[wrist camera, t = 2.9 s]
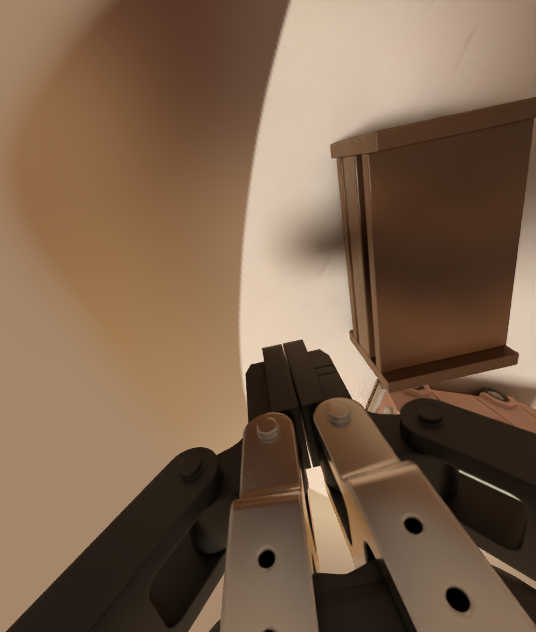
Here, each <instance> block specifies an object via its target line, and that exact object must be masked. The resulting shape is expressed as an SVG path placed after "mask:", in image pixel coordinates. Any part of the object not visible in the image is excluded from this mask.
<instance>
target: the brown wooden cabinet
mask: <svg viewBox="0 0 536 632" xmlns="http://www.w3.org/2000/svg"><path fill="white" fill-rule="evenodd" d="M534 118H536V97H533V98H528V99H524V100H519V101H515V102H510V103H505V104H501V105H496V106H491V107H487V108H482V109H477V110H473V111H468V112H463V113H459V114H454V115H450V116H445V117H440V118H436V119H431V120H426V121H422V122H417V123H412V124H408V125H403V126H398V127H394V128H389V129H385V130H380V131H376V132H372V133H369V134H365V135H362V136H358V137H355V138H351V139H348V140H344V141H341V142H337V143H334V144H331V145H330V148H331V157H332V158H337V169H338V179H339V189H340V199H341V210H342V220H343V230H344V240H345V251H346V261H347V271H348V281H349V292H350V302H351V312H352V322H353V330H352V331H350V340H351V341H352V343H353V344H354V345H355V347H356V348H357V350H358V351H359V352H360V354H361V355H362V357H363V358H364V359H365V361H366V362H367V364H368V365H369V366H370V368H371V369H372V371H373V372H374V373H375V375H376V376H377V377H378V379H379V380H380V382H381V383H382V384H383V386H384V387H385V389H386V390H387V391H388V393H393V392H398V391H402V390H407V389H411V388H415V387H420V386H424V385H429V384H433V383H437V382H442V381H446V380H451V379H455V378H459V377H464V376H468V375H473V374H477V373H481V372H486V371H490V370H495V369H499V368H503V367H508V366H512V365H516V364H517V363H518V356H519V353H517V352H516V351H514V350H512V349H511V348H509V347H508V346H506V340H507V332H508V324H509V316H510V308H511V300H512V292H513V284H514V277H515V269H516V261H517V253H518V245H519V237H520V229H521V221H522V213H523V205H524V197H525V189H526V181H527V173H528V165H529V157H530V149H531V141H532V133H533V125H534Z"/></svg>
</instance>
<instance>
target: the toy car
mask: <svg viewBox="0 0 536 632" xmlns="http://www.w3.org/2000/svg"><path fill="white" fill-rule="evenodd" d="M419 398H430V399H436V400H440V401H443V402H446V403H449V404H451V405H454V406H457V407H460V408H463V409H466V410H469V411H472V412H475V413H478V414H481V415H483V416H486V417H489V418H492V419H495V420H498V421H501V422H504V423H507V424H510V425H513V426H515V427H518V428H521V429H524V430H527V431H530V432H533V433H536V410H535V409H533V408H532V407H530V406H529V405H527V404H526V403H524V402H518V401H515V400H514V399H513V397H512V396H507V397H506V396H504V395H503V394H501V393H500V392H498V391H496V390H493V389H490V388H484V389H483V391H482V392H481V393H480V395H479V396H474V395H467V394H460V393H453V392H445V391H438V390H431V389H430V387H429V385H424V386H420V387H415V388H411V389H407V390H402V391H398V392H393V393H388V391H387V390H386V389H385V387H384V386H383V384H382V383H380V384H378V387H377V389H376V392H375V394H374V396H373V399H372V401H371V403H370V406H369V408H368V411H369V412H372V413H378V414H400V410H401V408H402V406H403V405H404V404H405V403H407V402H409V401H411V400H414V399H419ZM459 472H460V473H462V474H464V475H466V476H469V477H471V478H473V479H475V480H477V481H479V482H481V483H483V484H485V485H488V486H490V487H492V488H494V489H496V490H498V491H500V492H502V493H504V494H507V495H509V496H511V497H513V498H515V499H517V500H519V499H518V498H516V497H515V496H513V495H512V494H510V493H508V492H506V491H504V490H501V489H499V488H497V487H495V486H493V485H491V484H489V483H487V482H484V481H482V480H480V479H478V478H476V477H474V476H472V475H469V474H467V473H465V472H463V471H461V470H459Z"/></svg>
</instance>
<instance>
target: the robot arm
mask: <svg viewBox="0 0 536 632" xmlns="http://www.w3.org/2000/svg"><path fill="white" fill-rule="evenodd" d="M283 348H284V352H283ZM283 348H282V345H281V344H279V345H275V346H270V347H266V348H262V351H263V357H264V362H260V363H256V364H251V365H250V367H249V369H248V370H247V372H246V390H247V406H248V424H247V426H246V427H245V429H244V432H243V438H242V439H241V440H240V441H239V442H238V443H237V444H236V445H234V446H233V447H231V448H230V449H228V450H225V451H224V452H222V453H220V454H218V455H216V454H215V453H214V452H213V451H212V450H210V449H208V448H203V447H197V448H192V449H189V450H187V451H184V452H182V453H180V454H179V455H177V456H176V457H175V458H174V459H173V460H172V461H171V462H170V463H169V464H168V465H167V466H166V467H165V468H164V469H163V470H162V471H161V472H160V473H159V474H158V475H157V476H156V477H155V478H154V479H153V480H152V481H151V482H150V483H149V484H148V485H147V486H146V487H145V488H144V489H143V491H142V492H141V493H140V494H139V495H138V496H137V497H136V498H135V499H134V500H133V501H132V502H131V503H130V504H129V505H128V506H127V507H126V508H125V509H124V510H123V511H122V512H121V513H120V514H119V515H118V516H117V517H116V518H115V520H113V521H112V523H111V524H110V525H109V526H108V527H107V528H106V529H105V530H104V531H103V532H102V533H101V534H100V535H99V536H98V537H97V538H96V539H95V540H94V541H93V542H92V543H91V544H90V545H89V546H88V547H87V548H86V549H85V550H84V551H83V553H81V555H80V556H79V557H78V558H77V559H76V560H75V561H74V562H73V563H72V564H71V565H70V566H69V567H68V568H67V569H66V570H65V571H64V572H63V573H62V574H61V575H60V576H59V577H58V578H57V579H56V580H55V581H54V582H53V583H52V584H51V586H50V587H49V588H48V589H47V590H46V591H45V592H44V593H43V594H42V595H41V596H40V597H39V598H38V599H37V600H36V601H35V602H34V603H33V604H32V605H31V606H30V607H29V608H28V609H27V610H26V611H25V612H24V613H23V614H22V615H21V616H20V618H19V619H18V620H17V621H16V622H15V623H14V624H13V625H12V626H11V627H10V628H9V629H8V630H7V631H6V632H188V631H189V629H190V628H191V626H192V625H193V623H194V621H195V620H196V618H197V616H198V615H199V613H200V612H201V610H202V608H203V607H204V605H205V603H206V602H207V600H208V598H209V597H210V595H211V594H212V592H213V590H214V589H215V587H216V585H217V584H218V582H219V581H220V579H221V577H222V576H223V574H224V573H225V575H224V587H223V598H222V610H221V619H220V620H219V621H218V622H217V623H216V624H215V625H214V626H213V627H212V629H211V630H210V631H209V632H536V589H534V588H532V587H531V586H529V585H528V584H526V583H525V582H523V581H521V580H520V579H518V578H516V577H515V576H513V575H511V574H509V573H507V572H505V571H503V570H502V569H500V568H497V567H495V566H492V565H491V564H490V563H489V562H488V560H487V559H486V558H485V556H484V555H483V553H482V552H481V551H480V549H479V548H481V549H482V550H484V551H486V552H487V553H489V554H491V555H493V556H494V557H496V558H498V559H499V560H501V561H502V562H504V563H506V564H508V565H509V566H511V567H513V568H514V569H516V570H518V571H519V572H521V573H523V574H524V575H526V576H527V577H529V578H531V579H533V580H534V581H536V433H533V432H530V431H527V430H524V429H521V428H518V427H515V426H513V425H510V424H507V423H504V422H501V421H498V420H495V419H492V418H489V417H486V416H483V415H481V414H478V413H475V412H472V411H469V410H466V409H463V408H460V407H457V406H454V405H451V404H449V403H446V402H443V401H440V400H436V399H430V398H419V399H414V400H411V401H409V402H407V403H405V404H404V405H403V406H402V408H401V410H400V414H378V413H372V412H369V411H366V410H365V409H364V407H363V406H362V405H361V404H360V403H358V402H357V401H355V400H352V398H351V396H350V394H349V392H348V390H347V388H346V386H345V385H344V383H343V381H342V379H341V377H340V375H339V373H338V372H337V370H336V368H335V366H334V364H333V362H332V360H331V358H330V356H329V355H328V354H326V353H324V352H323V351H321V350H320V349H319V350H314V351H310V352H307V349H306V347H305V345H304V342H303V340H297V341H292V342H288V343H283ZM284 353H285V355H284ZM285 358H286V359H285ZM306 442H307V445H306ZM307 446H308V450H309V453H310V457H311V461H312V464H313V467H317V466H321V468H322V472H323V475H324V480H325V485H326V490H327V493H328V496H329V498H330V501H331V503H332V506H333V509H334V511H335V514H336V516H337V519H338V522H339V524H340V527H341V529H342V532H343V535H344V537H345V540H346V542H347V545H348V547H349V550H350V553H351V555H352V559H353V562H354V565H355V570H354V571H352V572H350V573H348V574H328V573H320V567H319V561H318V555H317V547H316V541H315V534H314V528H313V521H312V514H311V508H310V501H309V496H308V485H309V484H308V478H307V474H306V469H308V468H311V465H310V460H309V455H308V450H307ZM459 470H461V471H463V472H465V473H467V474H469V475H472V476H474V477H476V478H478V479H480V480H482V481H484V482H487V483H489V484H491V485H493V486H495V487H497V488H499V489H501V490H504V491H506V492H508V493H510V494H512V495H513V496H515V497H516V498H518V499H519V500H517V499H515V498H513V497H511V496H509V495H507V494H504V493H502V492H500V491H498V490H496V489H494V488H492V487H490V486H488V485H485V484H483V483H481V482H479V481H477V480H475V479H473V478H471V477H469V476H466V475H464V474H462V473H460V472H459ZM478 547H479V548H478Z"/></svg>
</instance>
